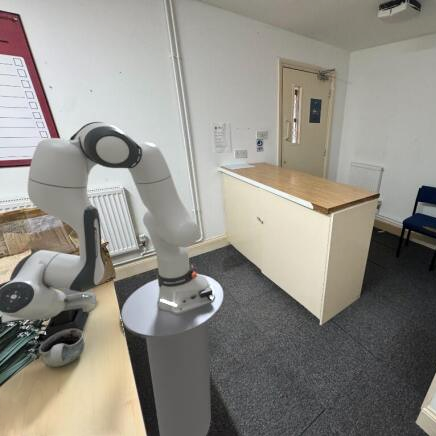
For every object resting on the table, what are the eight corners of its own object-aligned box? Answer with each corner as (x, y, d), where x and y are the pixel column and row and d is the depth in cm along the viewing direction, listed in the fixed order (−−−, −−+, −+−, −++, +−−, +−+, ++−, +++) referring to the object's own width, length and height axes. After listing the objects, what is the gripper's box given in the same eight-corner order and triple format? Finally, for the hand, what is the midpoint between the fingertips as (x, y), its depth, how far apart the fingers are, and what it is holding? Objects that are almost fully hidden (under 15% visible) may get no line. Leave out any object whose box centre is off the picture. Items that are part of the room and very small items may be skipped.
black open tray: (88, 314, 88) (86, 306, 87) (82, 332, 81) (79, 323, 80) (52, 321, 84) (50, 313, 82) (42, 341, 76) (39, 332, 75)
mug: (85, 339, 78) (79, 316, 75) (91, 366, 70) (84, 341, 67) (44, 356, 72) (35, 331, 68) (45, 387, 64) (35, 361, 60)
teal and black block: (76, 317, 84) (70, 297, 81) (72, 326, 81) (66, 305, 78) (59, 321, 82) (53, 300, 79) (55, 330, 79) (48, 309, 76)
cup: (100, 302, 94) (95, 277, 90) (80, 317, 87) (73, 290, 83) (83, 299, 95) (77, 274, 91) (61, 312, 88) (53, 286, 84)
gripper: (90, 285, 75) (101, 291, 86) (-4, 301, 65) (23, 306, 77) (89, 305, 73) (101, 309, 84) (-7, 324, 63) (21, 326, 75)
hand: (63, 308), depth 80 cm, fingers open, 8 cm apart
